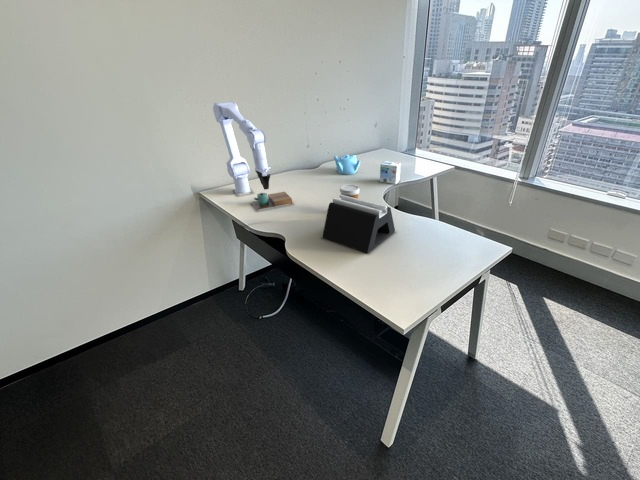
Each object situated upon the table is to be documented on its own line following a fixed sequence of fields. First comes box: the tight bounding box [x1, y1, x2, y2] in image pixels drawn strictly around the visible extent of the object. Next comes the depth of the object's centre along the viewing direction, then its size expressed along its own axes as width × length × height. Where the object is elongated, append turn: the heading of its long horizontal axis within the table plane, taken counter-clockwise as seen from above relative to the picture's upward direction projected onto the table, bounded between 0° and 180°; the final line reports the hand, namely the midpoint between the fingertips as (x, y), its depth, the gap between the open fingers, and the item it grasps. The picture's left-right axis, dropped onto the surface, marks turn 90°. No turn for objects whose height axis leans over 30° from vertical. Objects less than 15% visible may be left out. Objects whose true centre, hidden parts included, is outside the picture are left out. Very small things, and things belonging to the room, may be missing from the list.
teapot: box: [333, 153, 362, 176], centre depth 209 cm, size 15×15×11 cm
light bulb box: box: [379, 160, 401, 185], centre depth 195 cm, size 11×7×11 cm, turn 68°
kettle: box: [253, 192, 269, 205], centre depth 163 cm, size 7×5×5 cm
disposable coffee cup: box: [339, 184, 361, 199], centre depth 158 cm, size 10×10×12 cm
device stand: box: [322, 194, 396, 254], centre depth 137 cm, size 22×22×15 cm
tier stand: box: [251, 191, 293, 211], centre depth 166 cm, size 11×18×3 cm, turn 120°
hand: (265, 186), depth 160 cm, fingers open, 7 cm apart
